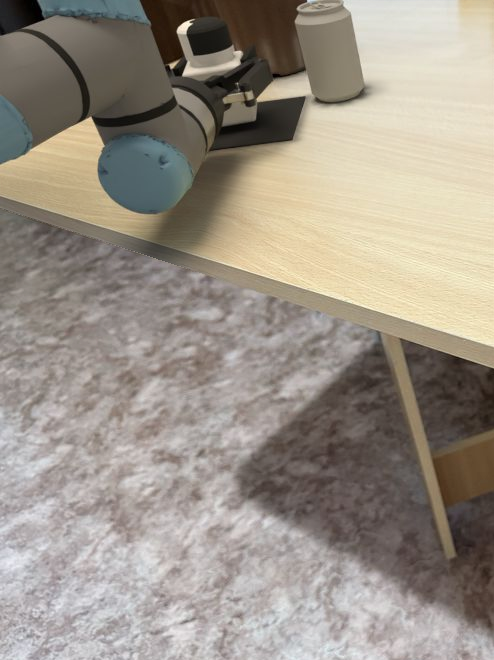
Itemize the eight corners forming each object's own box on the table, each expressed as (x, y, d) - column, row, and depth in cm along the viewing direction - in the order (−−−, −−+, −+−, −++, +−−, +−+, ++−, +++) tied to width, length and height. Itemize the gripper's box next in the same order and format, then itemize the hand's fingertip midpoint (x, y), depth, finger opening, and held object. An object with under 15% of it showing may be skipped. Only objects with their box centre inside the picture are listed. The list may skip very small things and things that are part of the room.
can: (335, 107, 94) (314, 12, 86) (302, 99, 98) (279, 7, 91) (376, 90, 98) (359, -2, 90) (343, 82, 102) (324, -7, 95)
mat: (149, 158, 86) (149, 157, 86) (181, 113, 99) (180, 112, 99) (292, 139, 86) (291, 138, 86) (305, 97, 99) (305, 96, 99)
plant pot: (349, 53, 114) (326, -59, 104) (287, 86, 103) (255, -34, 93) (273, 49, 121) (245, -56, 111) (208, 80, 110) (171, -33, 100)
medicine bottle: (258, 103, 95) (230, 9, 87) (256, 121, 89) (227, 22, 82) (205, 113, 94) (173, 18, 87) (201, 131, 89) (166, 32, 81)
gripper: (100, 167, 76) (157, 98, 94) (285, 143, 76) (306, 78, 94) (69, 99, 72) (134, 40, 90) (265, 73, 72) (292, 19, 89)
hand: (222, 60), depth 92 cm, fingers closed on medicine bottle, 8 cm apart
